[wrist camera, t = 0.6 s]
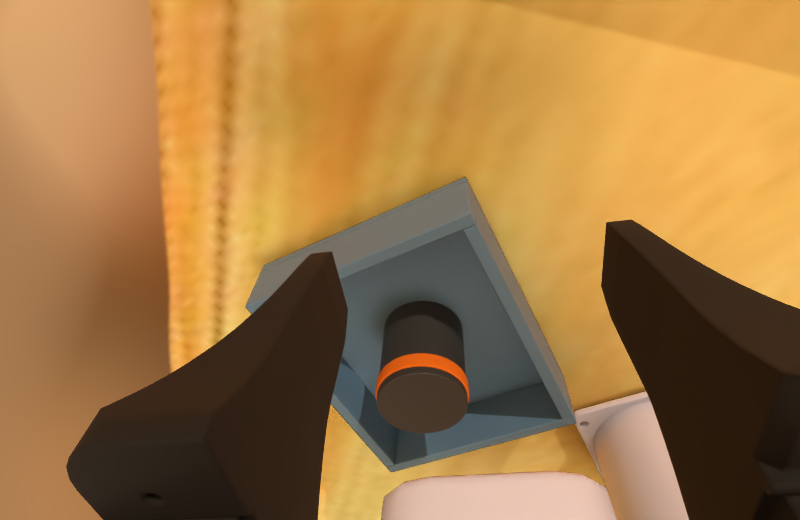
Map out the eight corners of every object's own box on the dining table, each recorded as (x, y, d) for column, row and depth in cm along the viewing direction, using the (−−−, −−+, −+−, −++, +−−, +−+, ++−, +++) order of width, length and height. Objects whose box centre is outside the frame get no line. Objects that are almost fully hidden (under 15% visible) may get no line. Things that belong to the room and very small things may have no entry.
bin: (563, 376, 30) (577, 423, 27) (393, 426, 33) (390, 473, 30) (465, 176, 23) (470, 212, 20) (263, 265, 26) (244, 306, 24)
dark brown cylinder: (476, 344, 28) (484, 420, 24) (405, 368, 29) (401, 443, 25) (442, 287, 26) (445, 360, 22) (367, 315, 27) (357, 389, 23)
